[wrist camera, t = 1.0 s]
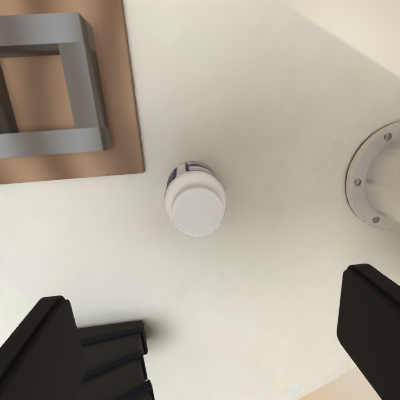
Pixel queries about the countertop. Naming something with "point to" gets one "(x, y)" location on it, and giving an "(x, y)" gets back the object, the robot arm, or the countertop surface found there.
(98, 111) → the mount
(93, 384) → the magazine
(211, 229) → the pill bottle
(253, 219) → the countertop surface
